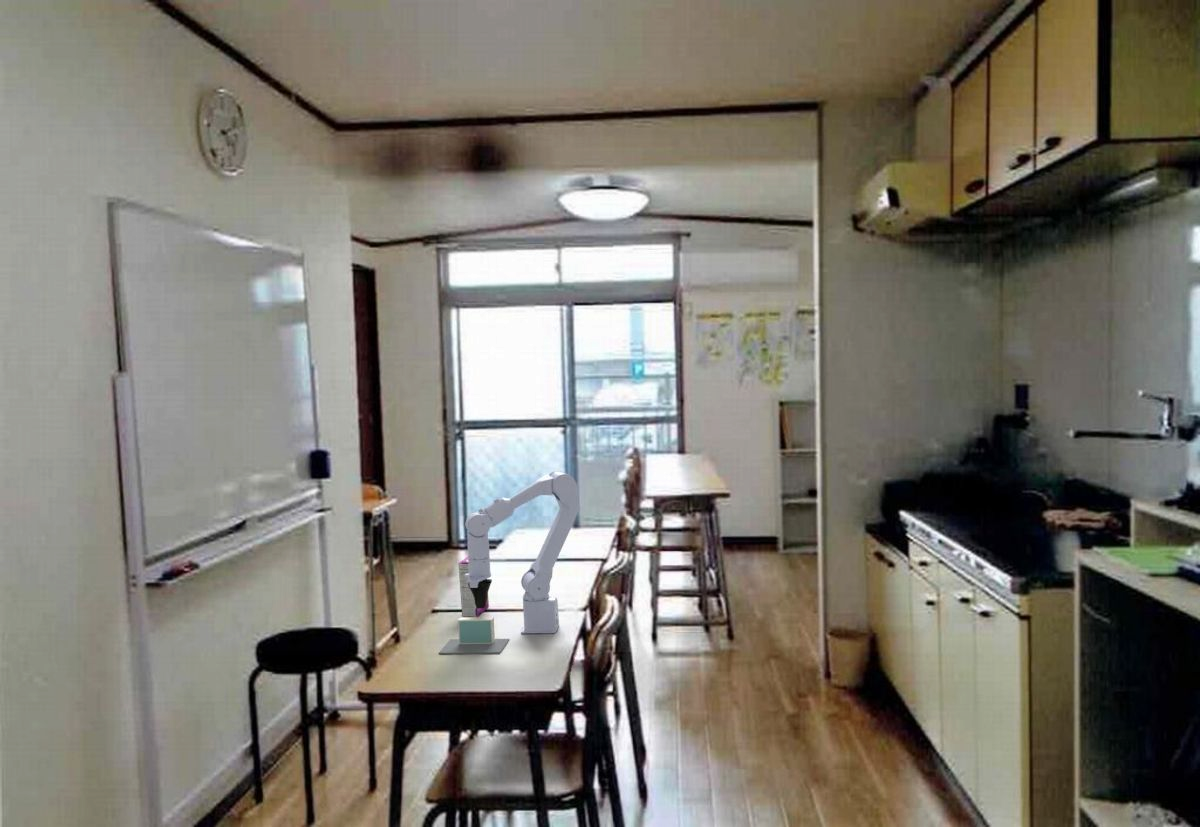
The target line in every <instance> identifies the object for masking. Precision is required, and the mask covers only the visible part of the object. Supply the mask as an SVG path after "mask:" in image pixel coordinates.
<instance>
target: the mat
mask: <svg viewBox="0 0 1200 827" xmlns="http://www.w3.org/2000/svg"><path fill="white" fill-rule="evenodd" d="M508 641H509V642H510V638H495V642H494V643H493V644H459V638H458V639H457V638H455V639H453V638H451V639H449V641H448V642H447V643H446V644H445V645H444V646H443V647H442V648H441V650H440V651H439V652H438V655H491V654H493V655H495V654H496V655H500V653H501V654H502V652H503V651H504V649H505V648H504V647H506V646H507V645H508V643H509V642H508ZM506 644H507V645H506ZM502 650H503V651H502Z"/></svg>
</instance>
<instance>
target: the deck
mask: <svg viewBox="0 0 1200 827" xmlns="http://www.w3.org/2000/svg"><path fill="white" fill-rule="evenodd" d="M457 628H458V639H459V644H493V643H494V642H495V639H496V637H495V634H496V633H495V618H494V616H478V617H462V616H460V617H459V618H458V619H457Z"/></svg>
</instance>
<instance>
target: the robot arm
mask: <svg viewBox="0 0 1200 827" xmlns="http://www.w3.org/2000/svg"><path fill="white" fill-rule="evenodd" d="M539 496H554V497H555V500H556V503H557V505H558V508H559V509H558V512H557V514H556V516H555V517H554V520H553V522H552V525H551V526H550V528H549V530H548V533H547V536H546V538H545V540H544V542H543V544H542V547H541V549H540V550H539V554H538V555H537V557H536V559H535V560H534V562H533V563H531V565H530V567H529V569H528V570H527V571H526V572H525V573H524V574H523V576H522V577H521V580H520V583H521V587H522V588H523V590H524V594H523V595H522V605H523V606H522V608H523V609H522V610H523V628H522V629H521V630H520V634H555V633H557V630H558V628H559V626H560V620H559V603H558V598H557V597H553V596H550V594H549V593H550V590H551V585H550V584H551V581H552V579H553V569H554V567H555V564H556V562H557V560H558V558H559V555H560V553H561V551H562V549H563V547H564V545H565V543H566V540H567V539H568V535H569V534H570V531H571V528H572V527H573V525H574V522H575V520H576V518H577V515H578V514H579V511H580V501H579V500H580V499H579V486H578V484H577V482H576V480H575V478H574V477H573V476H572V475H570V474H568V473H565V472H564V471H562V470H554V471H552V472H550V473H549V474H546V475H544V476H542V477H540V478H538V479H537V480H535V481H534V482H532V483H530V484H529V485H528V486H526V487H525V488H523V489H522V490H520V491H518V492H517V493H516V494H513V495H512V496H511V497H509V498H506V497H500V498H499V497H495V498H494V499H493V502H492V503H490V504H488V505H487V506H485V507H483V508H482V507H480V508H478V512H472V513H471V514H469V515H468V516H467V518H466V520H465V523H464V527H465V529H466V530H467V557H468V564H469V573H467V574H465V577H468V578H469V580H470V581H469V583H468V586H469V588H470V590H471V591H472V594H473V596H474V600H475V603H476V607H477V608H485V607H486V602H487V595H488V596H489V590H490V587H491V585H492V582H493V581H492V579H490V578H491V577H492V573H491V562H490V561H491V558H490V556H491V555H490V540H489V537H488V536H489V531H490V529H491V528H494V527H497V526H498V525H499V524H501V523H503V522H504V521H506V520H508V519H509V518H511V517H513V515H514V513H515V511H516V510H515V509H517V508H519V507H521V506H523V505H525V504H526V503H528V502H530V501H532V500H534V499H535V498H537V497H539Z"/></svg>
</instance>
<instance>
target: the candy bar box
mask: <svg viewBox="0 0 1200 827" xmlns="http://www.w3.org/2000/svg"><path fill="white" fill-rule="evenodd" d="M458 573H459V574H458V576H459V589H460V600H461V601H460V604H461V607H460V608H461V617H480V615H482V613H484V612H485V611H486V610H487V609H488V608H489V607H490V603H489V594H488V595H487V602H486V607H485V608H477V607H476V603H475V600H474V596H473V594H472V591H471V590H470V588H469V586H468V583H469V581H470V580H469V578H468V577H465V574H467V573H469V564H468V556H467V557H465V558H464V559H462V560H461V561H459V562H458Z"/></svg>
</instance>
